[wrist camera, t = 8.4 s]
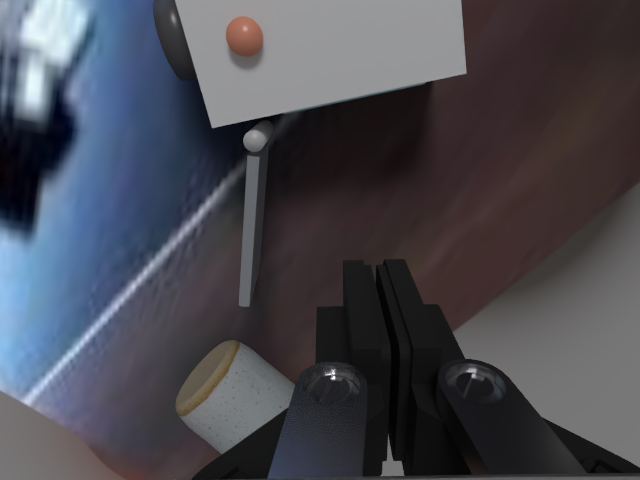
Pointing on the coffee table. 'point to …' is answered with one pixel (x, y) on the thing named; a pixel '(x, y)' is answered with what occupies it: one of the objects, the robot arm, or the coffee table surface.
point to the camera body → (306, 50)
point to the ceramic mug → (232, 395)
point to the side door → (254, 207)
